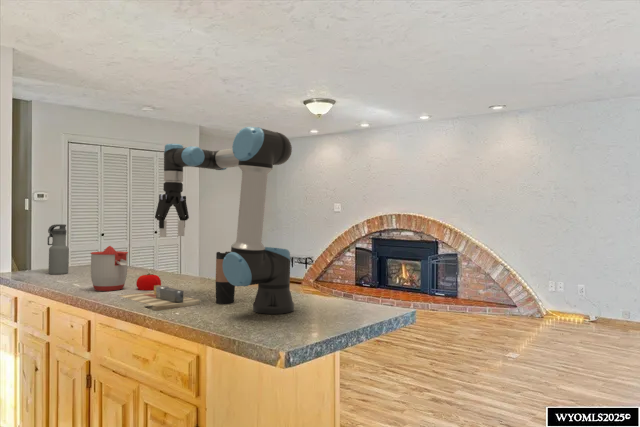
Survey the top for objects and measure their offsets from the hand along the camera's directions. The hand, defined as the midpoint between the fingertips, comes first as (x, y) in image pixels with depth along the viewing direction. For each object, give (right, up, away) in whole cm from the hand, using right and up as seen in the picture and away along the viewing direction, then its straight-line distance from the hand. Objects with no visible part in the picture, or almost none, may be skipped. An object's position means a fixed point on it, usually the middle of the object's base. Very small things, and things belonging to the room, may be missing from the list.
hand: (172, 236), depth 184 cm
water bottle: (-89, -25, +72) cm, 117 cm away
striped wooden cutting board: (-4, -26, -5) cm, 26 cm away
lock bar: (+2, -24, -9) cm, 26 cm away
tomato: (-16, -26, +16) cm, 34 cm away
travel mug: (+22, -26, -5) cm, 35 cm away
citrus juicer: (-35, -26, +21) cm, 48 cm away
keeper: (-7, -24, +3) cm, 25 cm away
